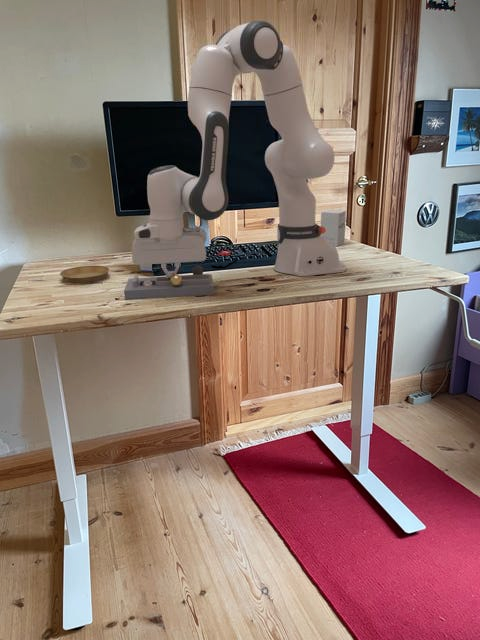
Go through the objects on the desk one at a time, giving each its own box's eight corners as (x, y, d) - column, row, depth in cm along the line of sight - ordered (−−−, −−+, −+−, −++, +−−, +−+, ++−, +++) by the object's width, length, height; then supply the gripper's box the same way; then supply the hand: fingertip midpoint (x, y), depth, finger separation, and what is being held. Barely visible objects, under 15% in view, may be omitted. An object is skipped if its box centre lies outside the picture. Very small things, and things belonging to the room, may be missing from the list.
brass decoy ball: (182, 284, 138) (181, 272, 137) (182, 287, 135) (181, 276, 134) (171, 284, 138) (170, 273, 136) (170, 288, 135) (169, 276, 134)
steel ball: (155, 281, 141) (144, 277, 141) (154, 284, 138) (143, 281, 138) (151, 291, 142) (140, 288, 142) (151, 295, 139) (140, 291, 139)
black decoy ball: (203, 274, 147) (202, 263, 146) (203, 277, 144) (203, 266, 143) (192, 275, 146) (191, 264, 145) (192, 278, 143) (191, 267, 142)
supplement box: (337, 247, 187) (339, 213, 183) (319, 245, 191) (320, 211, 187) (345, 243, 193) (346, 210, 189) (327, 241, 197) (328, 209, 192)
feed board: (211, 282, 148) (211, 269, 146) (214, 294, 137) (213, 280, 135) (129, 286, 146) (128, 273, 144) (124, 299, 134) (123, 285, 133)
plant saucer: (62, 275, 161) (61, 267, 160) (109, 271, 164) (109, 263, 163) (59, 288, 147) (58, 279, 146) (111, 283, 151) (110, 275, 150)
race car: (224, 270, 162) (223, 257, 161) (208, 268, 164) (208, 256, 163) (239, 260, 173) (239, 248, 172) (225, 259, 175) (224, 247, 174)
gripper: (205, 224, 139) (208, 272, 144) (130, 228, 137) (136, 277, 142) (206, 228, 133) (209, 279, 138) (128, 233, 131) (134, 283, 136)
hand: (171, 278), depth 140 cm, fingers closed
